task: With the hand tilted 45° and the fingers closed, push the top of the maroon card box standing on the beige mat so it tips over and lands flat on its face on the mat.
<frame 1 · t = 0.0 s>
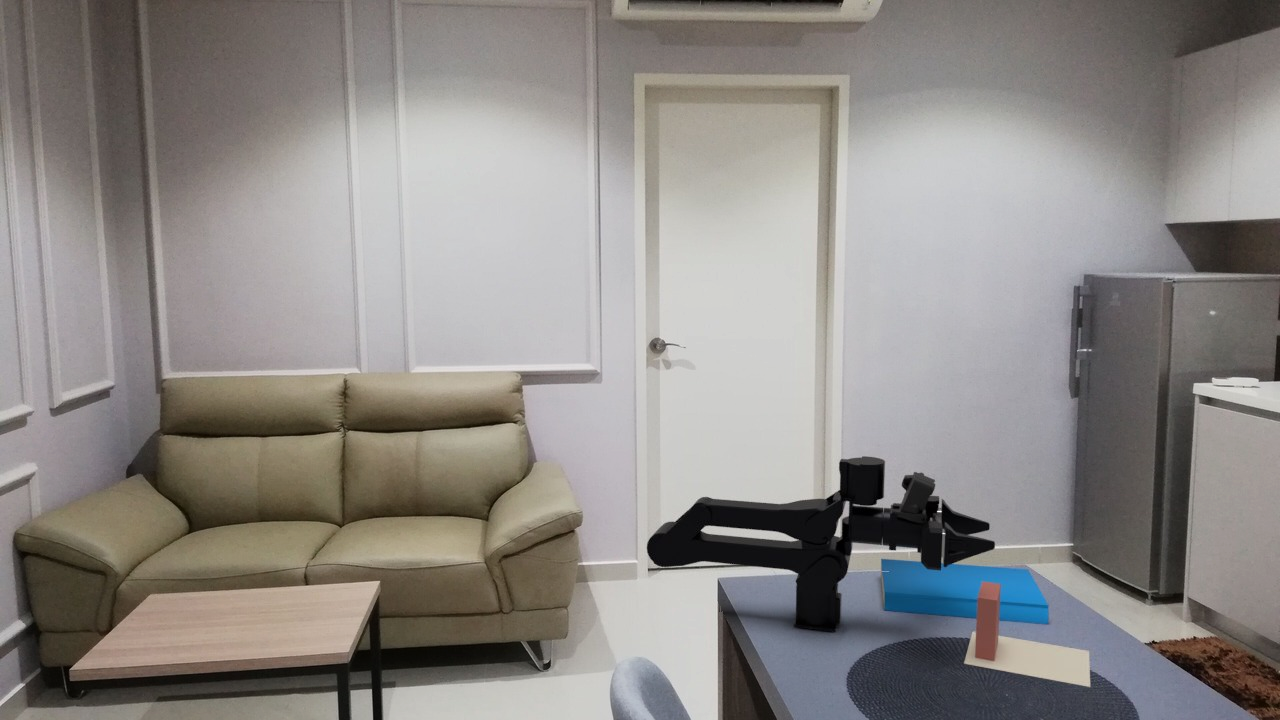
hand: (992, 535, 132), 17 cm above the table, tool horizontal, fingers open, 9 cm apart
card box: (986, 649, 131), resting on mat
mat: (1027, 660, 128), on the table
book: (958, 604, 151), on the table
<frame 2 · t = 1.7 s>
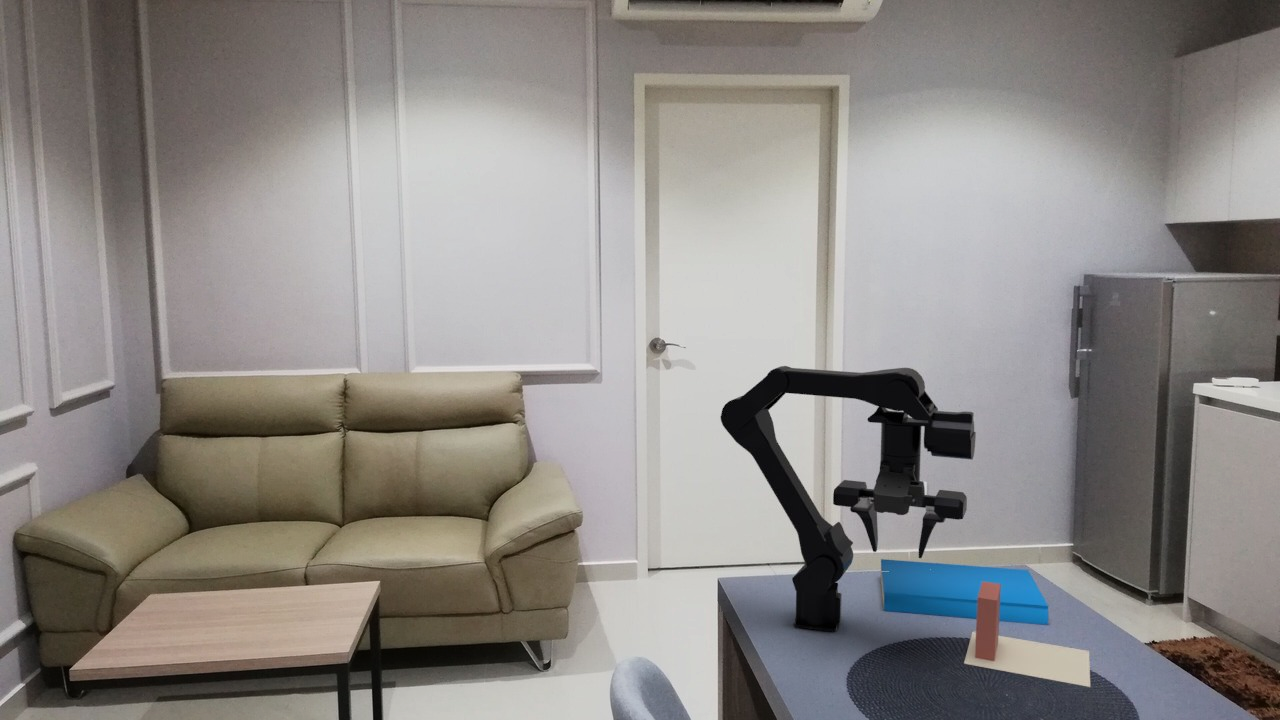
hand: (897, 554, 135), 13 cm above the table, tool pointing down, fingers open, 6 cm apart
nothing on the table moved.
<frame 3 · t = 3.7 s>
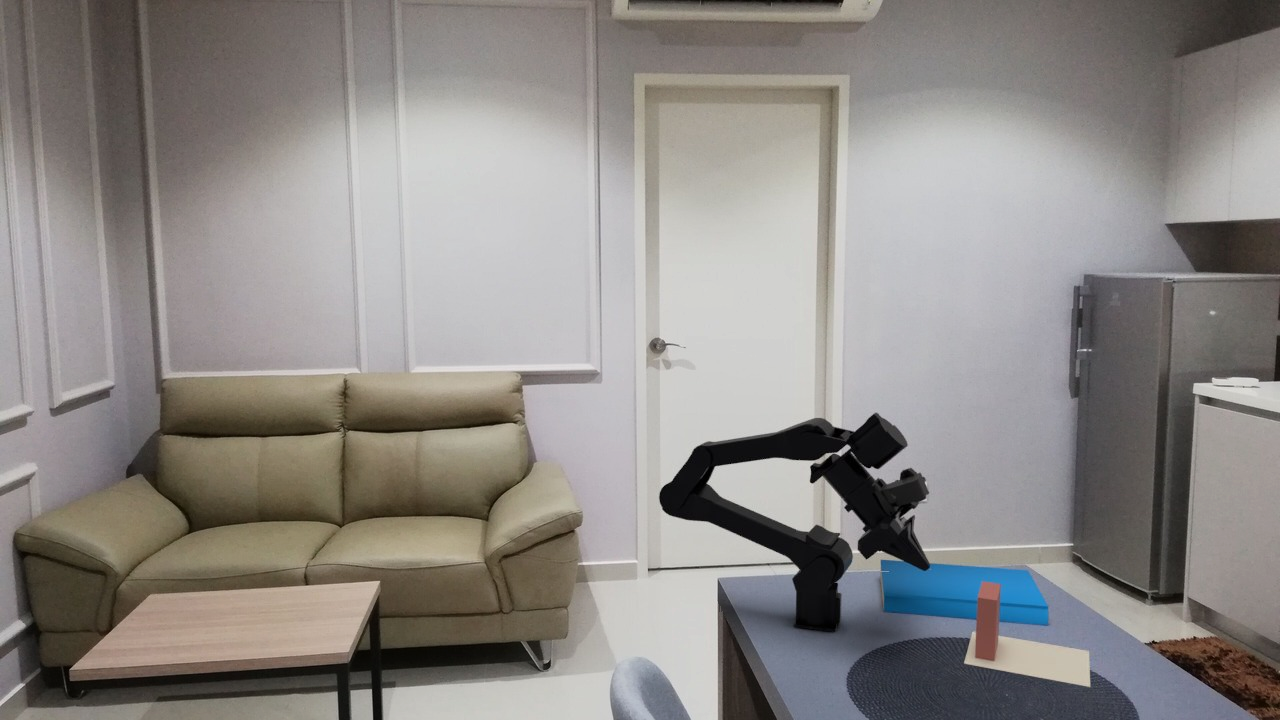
hand: (927, 568, 133), 11 cm above the table, tool tilted 45°, fingers closed
nothing on the table moved.
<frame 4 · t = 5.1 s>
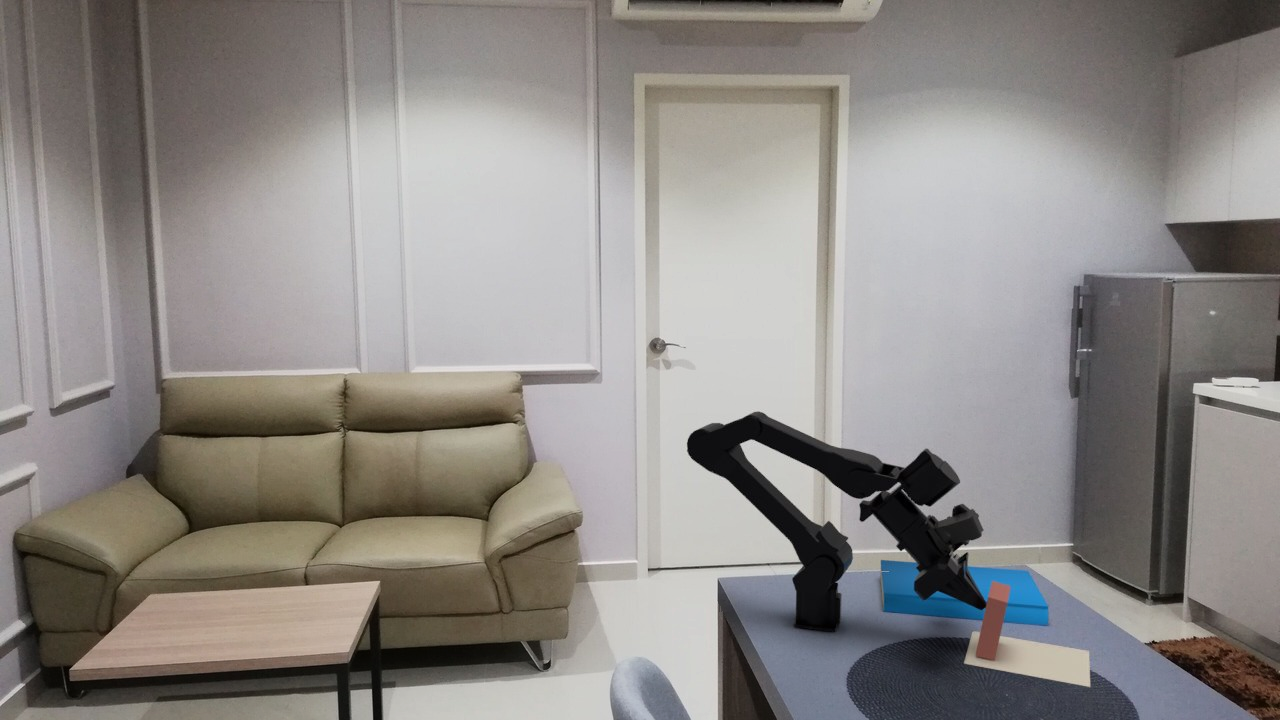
hand: (984, 607, 130), 7 cm above the table, tool tilted 45°, fingers closed
card box: (986, 648, 131), point 1 cm above the table, tilted 9°, touching mat
everything else where it was.
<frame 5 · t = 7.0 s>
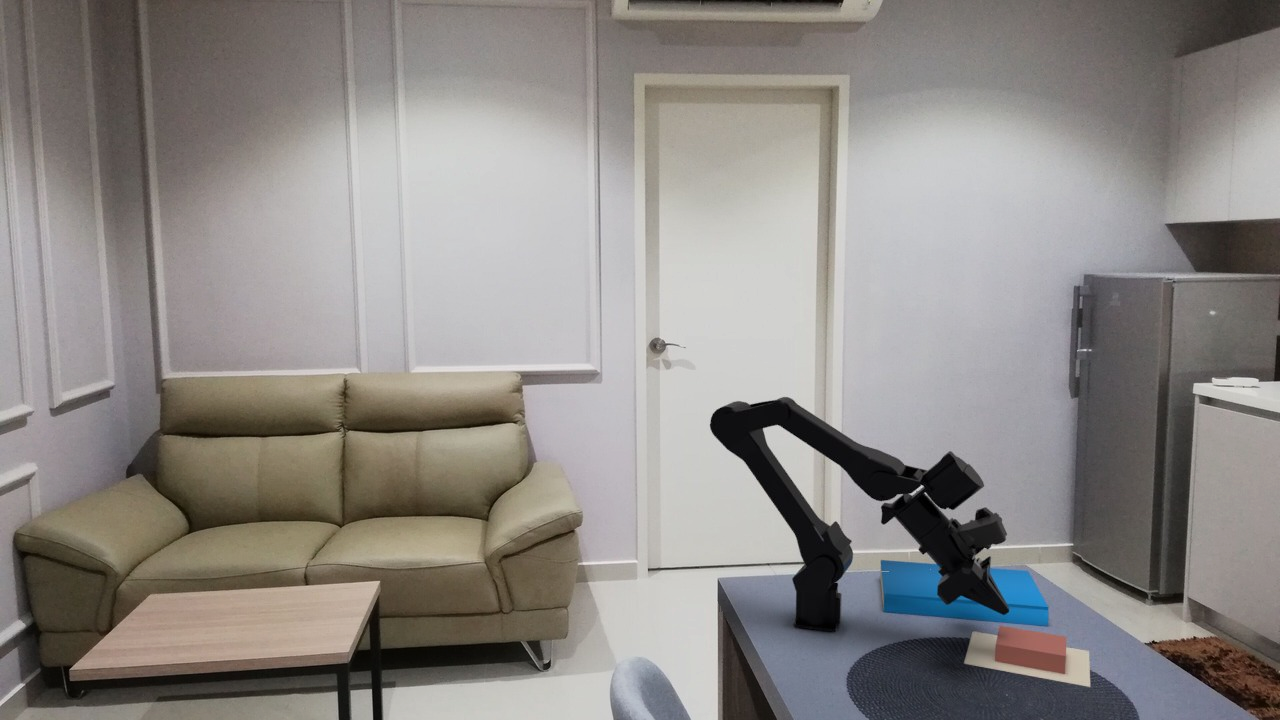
hand: (1007, 612, 129), 7 cm above the table, tool tilted 45°, fingers closed
card box: (997, 643, 130), point 2 cm above the table, tilted 90°, touching mat
everything else where it was.
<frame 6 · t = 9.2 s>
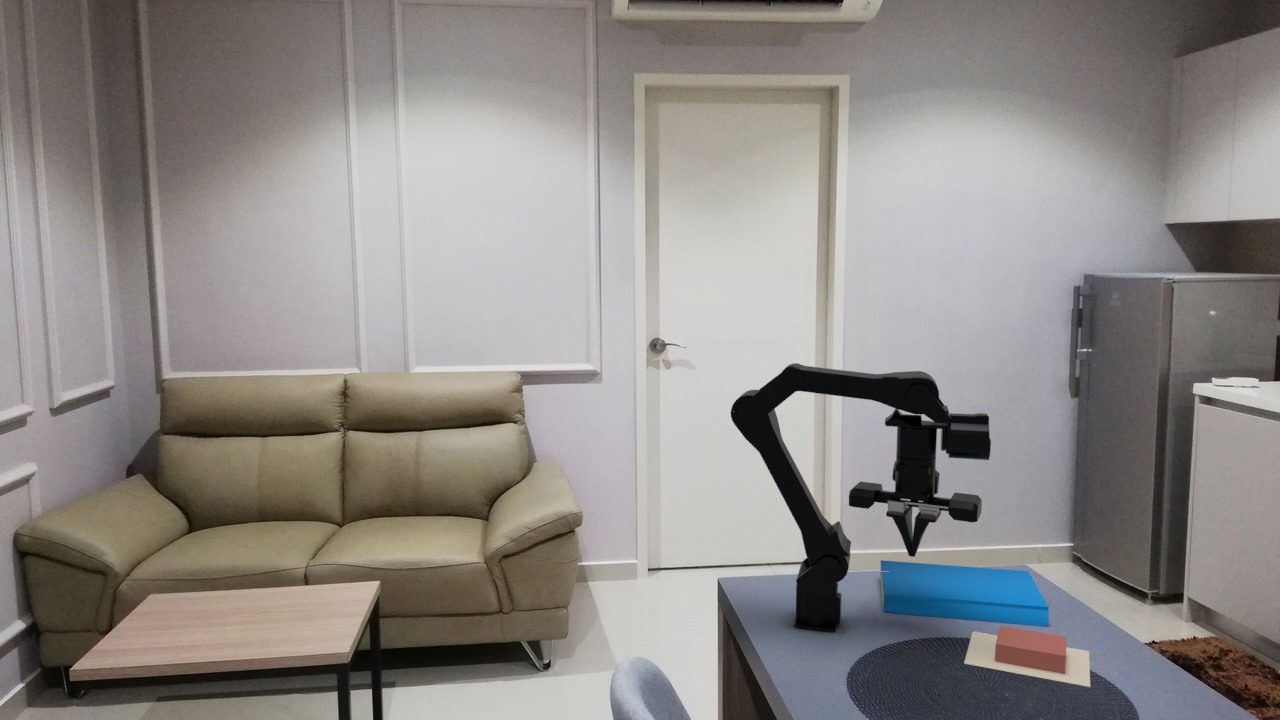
hand: (912, 555, 136), 12 cm above the table, tool pointing down, fingers closed
nothing on the table moved.
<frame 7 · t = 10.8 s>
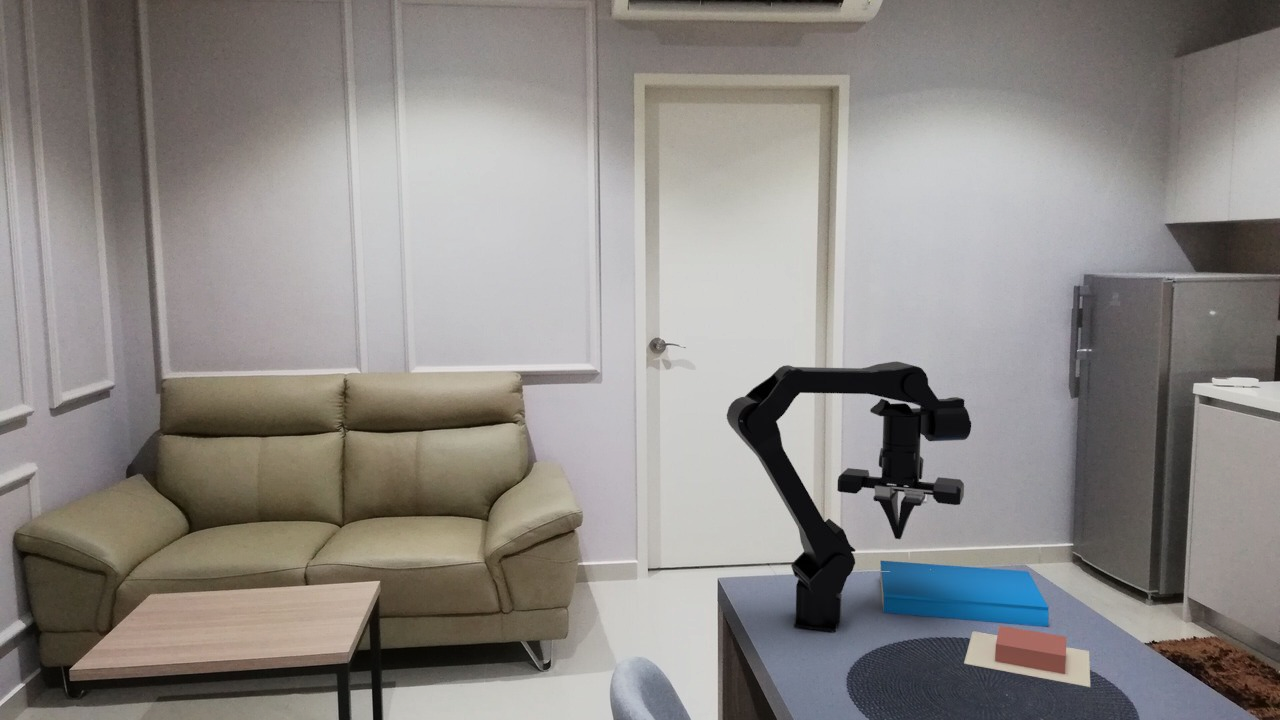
hand: (898, 538, 142), 13 cm above the table, tool pointing down, fingers closed
nothing on the table moved.
at the end: card box tilted 90°; card box 4.1 cm from the mat (horizontally); card box point 1.8 cm above the table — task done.
